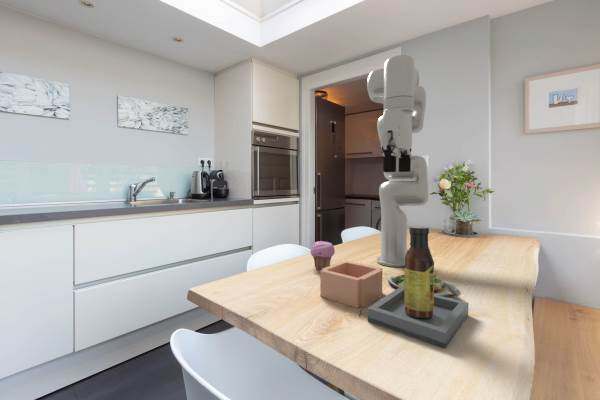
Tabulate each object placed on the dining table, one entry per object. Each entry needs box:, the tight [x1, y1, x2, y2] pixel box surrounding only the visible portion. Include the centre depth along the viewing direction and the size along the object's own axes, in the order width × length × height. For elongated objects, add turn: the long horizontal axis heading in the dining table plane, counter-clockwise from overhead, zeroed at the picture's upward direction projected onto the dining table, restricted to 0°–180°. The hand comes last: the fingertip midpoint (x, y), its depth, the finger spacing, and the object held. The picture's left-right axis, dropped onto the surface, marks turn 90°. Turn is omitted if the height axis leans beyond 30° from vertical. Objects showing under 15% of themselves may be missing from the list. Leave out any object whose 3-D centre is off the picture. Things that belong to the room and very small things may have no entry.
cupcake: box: [310, 240, 336, 271], centre depth 103 cm, size 9×9×10 cm
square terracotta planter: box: [319, 260, 383, 309], centre depth 79 cm, size 13×13×7 cm
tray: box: [367, 286, 469, 349], centre depth 65 cm, size 18×16×3 cm
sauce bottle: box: [403, 225, 435, 319], centre depth 65 cm, size 6×6×20 cm
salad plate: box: [387, 274, 460, 297], centre depth 84 cm, size 19×18×5 cm
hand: (397, 171), depth 77 cm, fingers open, 9 cm apart
